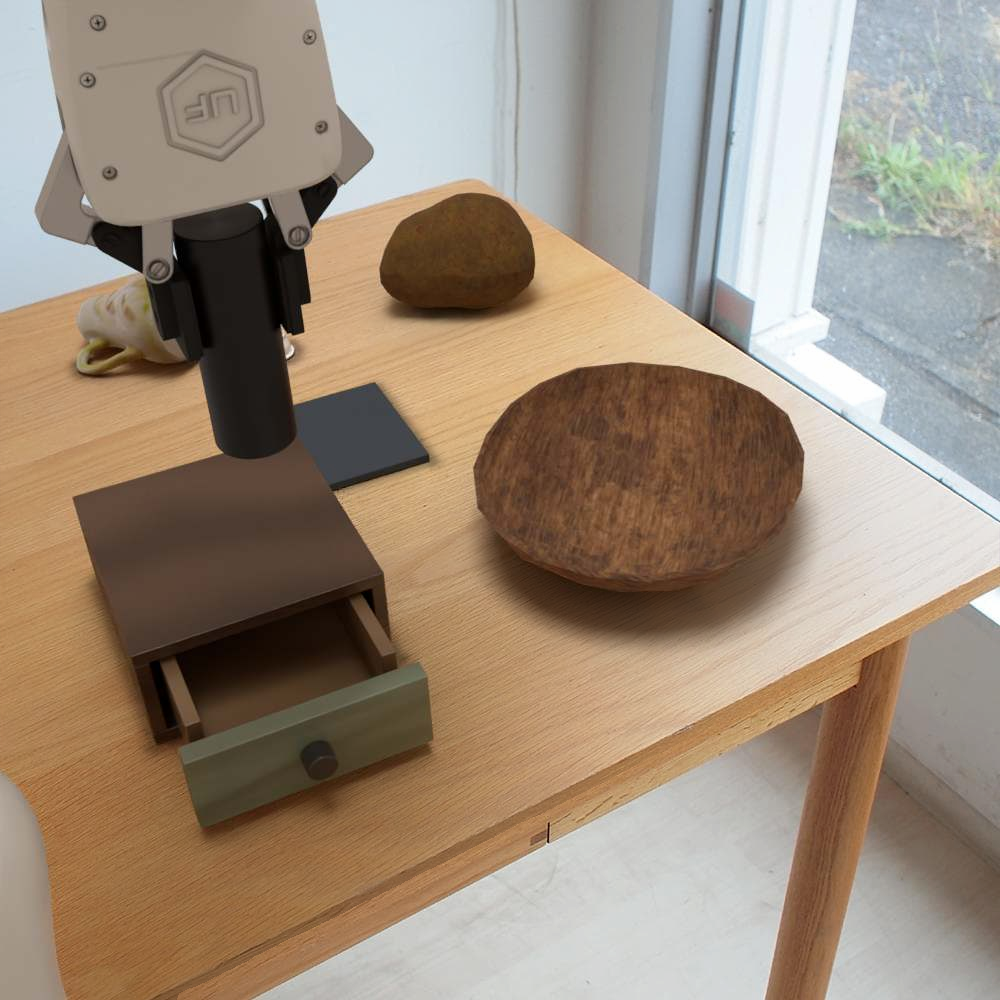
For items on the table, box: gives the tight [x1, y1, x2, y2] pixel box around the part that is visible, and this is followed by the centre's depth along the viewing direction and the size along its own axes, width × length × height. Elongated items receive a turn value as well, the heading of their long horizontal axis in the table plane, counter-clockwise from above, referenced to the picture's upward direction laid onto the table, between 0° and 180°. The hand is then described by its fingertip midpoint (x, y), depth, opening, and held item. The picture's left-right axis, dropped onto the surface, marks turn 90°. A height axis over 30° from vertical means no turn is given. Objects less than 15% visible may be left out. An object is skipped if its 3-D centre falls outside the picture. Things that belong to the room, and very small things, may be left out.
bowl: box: [472, 361, 806, 593], centre depth 82 cm, size 20×22×5 cm
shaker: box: [173, 202, 297, 459], centre depth 58 cm, size 4×4×11 cm
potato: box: [378, 192, 536, 310], centre depth 103 cm, size 8×12×9 cm
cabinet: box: [71, 435, 393, 745], centre depth 75 cm, size 15×14×7 cm
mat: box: [293, 381, 430, 492], centre depth 91 cm, size 10×10×1 cm
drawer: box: [153, 592, 435, 829], centre depth 69 cm, size 15×12×5 cm
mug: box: [76, 273, 187, 376], centre depth 99 cm, size 8×10×10 cm
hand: (237, 329), depth 58 cm, fingers closed on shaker, 3 cm apart
